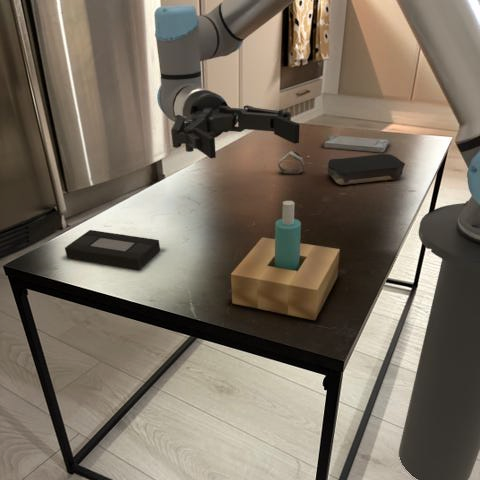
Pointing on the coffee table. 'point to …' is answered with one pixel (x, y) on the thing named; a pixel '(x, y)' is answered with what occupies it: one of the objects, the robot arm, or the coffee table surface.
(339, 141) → the phone
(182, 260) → the coffee table surface
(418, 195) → the coffee table surface
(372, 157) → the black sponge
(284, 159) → the wristwatch
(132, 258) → the vhs tape
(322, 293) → the holder
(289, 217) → the teal lotion tube
